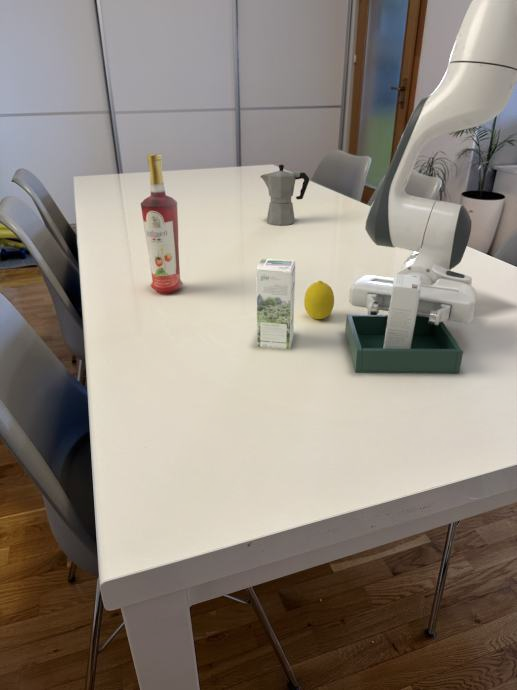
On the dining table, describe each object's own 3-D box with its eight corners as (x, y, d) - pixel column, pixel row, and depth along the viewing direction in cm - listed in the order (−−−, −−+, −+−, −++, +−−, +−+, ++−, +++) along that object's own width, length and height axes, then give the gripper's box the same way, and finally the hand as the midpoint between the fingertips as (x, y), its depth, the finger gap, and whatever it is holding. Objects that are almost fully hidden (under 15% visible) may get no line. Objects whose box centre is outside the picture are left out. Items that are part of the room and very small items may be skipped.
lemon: (307, 328, 94) (309, 286, 91) (300, 316, 99) (301, 276, 95) (336, 325, 95) (339, 285, 91) (328, 314, 100) (330, 275, 96)
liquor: (188, 285, 115) (178, 153, 102) (177, 297, 109) (165, 157, 96) (157, 283, 116) (144, 152, 104) (145, 295, 110) (128, 157, 97)
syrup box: (294, 337, 91) (295, 258, 84) (290, 353, 85) (291, 269, 79) (262, 335, 91) (261, 256, 85) (256, 350, 86) (255, 268, 80)
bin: (434, 338, 90) (438, 314, 88) (458, 377, 78) (463, 351, 76) (344, 337, 90) (346, 314, 88) (354, 376, 78) (357, 350, 76)
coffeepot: (259, 225, 164) (259, 166, 156) (261, 219, 172) (260, 162, 164) (308, 225, 163) (310, 166, 155) (307, 219, 172) (309, 162, 163)
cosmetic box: (384, 340, 87) (392, 272, 81) (411, 343, 86) (421, 274, 80) (381, 357, 82) (389, 285, 76) (411, 360, 81) (421, 288, 75)
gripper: (361, 262, 94) (339, 286, 82) (481, 277, 86) (474, 306, 75) (358, 295, 96) (336, 322, 85) (474, 312, 89) (467, 345, 77)
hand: (402, 315), depth 80 cm, fingers open, 8 cm apart
